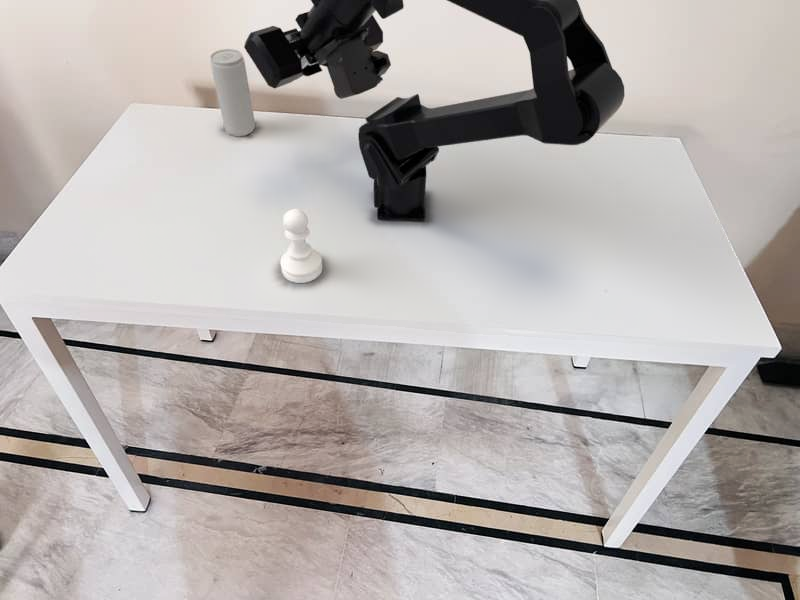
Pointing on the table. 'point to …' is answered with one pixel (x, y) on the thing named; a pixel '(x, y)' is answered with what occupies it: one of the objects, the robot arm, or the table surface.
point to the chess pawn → (299, 250)
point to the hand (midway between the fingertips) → (292, 77)
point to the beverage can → (233, 91)
